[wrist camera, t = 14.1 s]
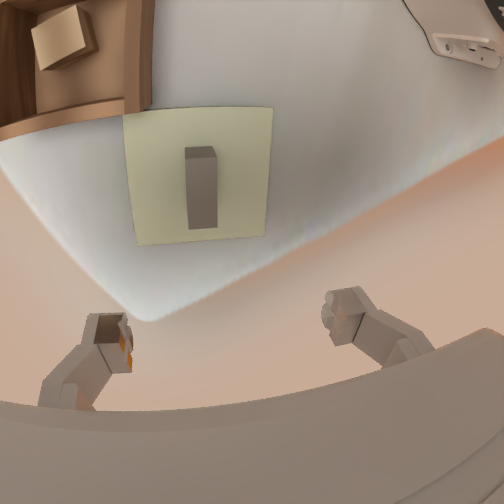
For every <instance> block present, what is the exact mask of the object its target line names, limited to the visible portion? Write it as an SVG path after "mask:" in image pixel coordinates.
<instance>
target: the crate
mask: <svg viewBox="0 0 504 504" xmlns="http://www.w3.org/2000/svg"><path fill="white" fill-rule="evenodd" d="M74 5H77V6H79V7H80V8H82V9H83V10H85V11H86V12H88V13H89V14H90V16H91V20H92V24H93V28H94V32H95V36H96V40H97V44H98V48H99V51H98V52H95V53H93V54H91V55H89V56H87V57H85V58H83V59H81V60H79V61H77V62H75V63H73V64H71V65H69V66H67V67H65V68H63V69H61V70H59V71H40V67H39V63H38V59H37V55H36V50H35V46H34V41H33V37H32V32H31V30H32V29H33V28H35V27H36V26H38V25H40V24H41V23H43V22H45V21H46V20H48V19H50V18H52V17H53V16H55V15H57V14H59V13H61V12H63V11H64V10H66V9H68V8H70V7H72V6H74ZM154 6H155V0H0V141H3V140H6V139H10V138H13V137H17V136H20V135H24V134H27V133H31V132H35V131H39V130H43V129H47V128H51V127H56V126H60V125H65V124H70V123H75V122H80V121H86V120H91V119H97V118H104V117H110V116H117V115H125V114H133V113H140V112H141V111H143V110H144V109H145V108H147V107H148V106H149V105H151V104H152V41H153V21H154Z"/></svg>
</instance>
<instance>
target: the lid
mask: <svg viewBox="0 0 504 504" xmlns="http://www.w3.org/2000/svg"><path fill="white" fill-rule="evenodd" d="M272 122H273V108H272V107H252V106H209V107H184V108H168V109H156V110H146V111H141V112H140V113H133V114H125V115H123V133H124V147H125V158H126V169H127V178H128V187H129V195H130V202H131V210H132V217H133V223H134V230H135V236H136V242H137V246H145V245H156V244H168V243H180V242H192V241H204V240H217V239H230V238H243V237H257V236H264V235H265V222H266V208H267V194H268V180H269V166H270V152H271V137H272Z"/></svg>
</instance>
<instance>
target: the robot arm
mask: <svg viewBox="0 0 504 504" xmlns="http://www.w3.org/2000/svg"><path fill="white" fill-rule="evenodd" d="M404 1H405V3H406V5H407V7H408V8H409V10H410V12H411V13H412V15H413V16H414V17H415V19H416V20H417V21H418V22H419V24H420V25H421V26H422V28H423V29H424V31H425V33H426V35H427V38H428V41H429V43H430V46H431V48H432V50H433V51H434V52H435V53H436V54H437V55H440V56H445V57H450V58H454V59H458V60H462V61H466V62H470V63H474V64H477V65H481V66H484V67H487V68H491V69H497V68H498V66H499V64H500V62H501V58H502V57H504V0H404ZM325 300H326V303H325V304H324V305H323V307H322V311H321V314H322V321H323V324H324V326H325V327H326V328H327V329H329V330H330V337H331V339H332V341H333V343H334V345H335V346H339V345H344V344H348V343H353V344H354V345H355V346H356V347H358V348H359V349H360V350H362V351H363V352H364V353H366V354H367V355H368V356H370V357H371V358H372V359H374V360H375V361H376V362H378V363H379V364H380V365H382V366H383V367H382V368H381V370H378V371H375V372H372V373H369V374H366V375H362V376H359V377H355V378H352V379H349V380H345V381H341V382H338V383H334V384H330V385H326V386H322V387H318V388H314V389H310V390H305V391H301V392H296V393H292V394H287V395H282V396H277V397H272V398H266V399H260V400H254V401H248V402H241V403H235V404H227V405H219V406H210V407H201V408H190V409H177V410H161V411H124V412H122V411H120V412H119V411H116V412H115V411H96V410H95V409H94V407H93V406H92V404H93V403H94V401H95V399H96V398H97V396H98V395H99V393H100V392H101V390H102V389H103V387H104V386H105V384H106V383H107V381H108V380H109V378H110V377H111V375H112V374H113V373H131V372H132V357H131V354H130V353H131V352H132V351H133V336H132V331H131V328H130V327H129V326H128V325H127V320H128V319H127V316H126V313H123V312H122V313H98V314H89V315H88V316H87V320H86V324H85V328H84V332H83V337H82V341H81V345H77V346H76V347H75V348H74V349H73V350H72V351H71V352H70V353H69V354H68V355H67V356H66V357H65V358H64V359H63V360H62V361H61V362H60V363H59V364H58V365H57V366H56V368H54V370H53V371H52V372H51V373H50V374H49V375H48V376H47V377H46V378H45V379H44V380H43V382H42V387H41V391H40V396H39V401H38V406H31V405H23V404H17V403H11V402H4V401H0V504H504V336H503V335H501V334H499V333H497V332H495V331H494V330H491V329H489V328H482V329H480V330H478V331H476V332H473V333H471V334H469V335H467V336H465V337H463V338H461V339H459V340H457V341H454V342H452V343H450V344H447V345H445V346H443V347H440V348H438V349H435V348H434V347H433V346H432V344H431V343H430V341H429V340H428V339H427V338H426V336H425V335H424V333H423V332H422V331H420V330H418V329H416V328H414V327H413V326H411V325H409V324H407V323H405V322H403V321H401V320H399V319H397V318H396V317H394V316H392V315H390V314H388V313H386V312H384V311H382V310H377V308H376V307H375V306H374V304H373V303H372V302H371V300H370V299H369V297H368V296H367V295H366V293H365V292H364V291H363V289H362V288H361V287H359V286H356V287H351V288H345V289H339V290H333V291H328V292H327V293H326V296H325Z"/></svg>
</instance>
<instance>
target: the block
mask: <svg viewBox="0 0 504 504" xmlns="http://www.w3.org/2000/svg"><path fill="white" fill-rule="evenodd" d="M31 32H32V37H33V41H34V46H35V50H36V55H37V59H38V63H39V67H40V71H59V70H61V69H63V68H65V67H67V66H69V65H71V64H73V63H75V62H77V61H79V60H81V59H83V58H85V57H87V56H89V55H91V54H93V53H95V52H98V51H99V48H98V44H97V40H96V36H95V32H94V28H93V24H92V20H91V16H90V14H89V13H88V12H86V11H85V10H83V9H82V8H80V7H79V6H77V5H74V6H72V7H70V8H68V9H66V10H64V11H63V12H61V13H59V14H57V15H55V16H53V17H52V18H50V19H48V20H46V21H45V22H43V23H41V24H40V25H38V26H36V27H35V28H33V29H32V30H31Z"/></svg>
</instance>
